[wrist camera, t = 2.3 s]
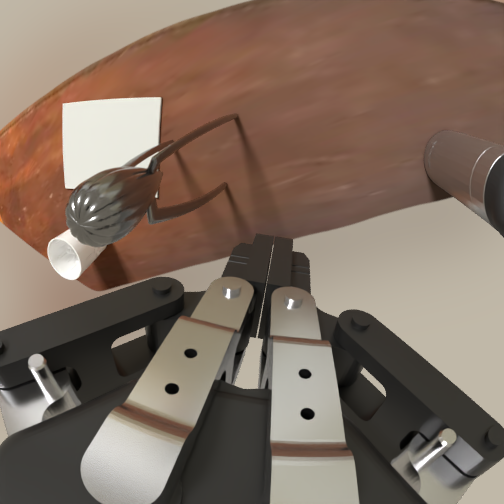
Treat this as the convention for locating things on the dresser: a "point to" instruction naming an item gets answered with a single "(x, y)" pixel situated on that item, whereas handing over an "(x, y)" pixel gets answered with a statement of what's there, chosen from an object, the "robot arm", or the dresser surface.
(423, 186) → the dresser surface
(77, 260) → the white cup
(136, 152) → the mat
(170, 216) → the juicer
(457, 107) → the dresser surface
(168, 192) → the dresser surface
